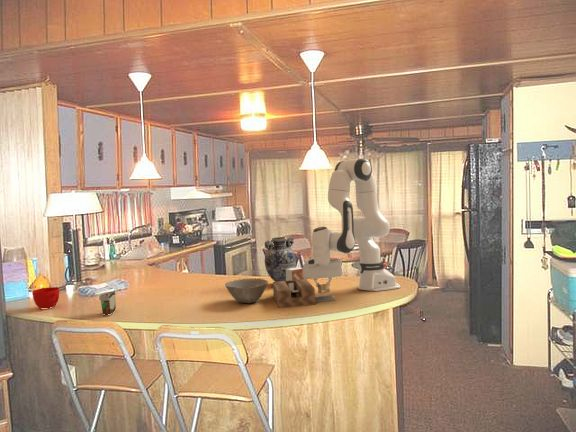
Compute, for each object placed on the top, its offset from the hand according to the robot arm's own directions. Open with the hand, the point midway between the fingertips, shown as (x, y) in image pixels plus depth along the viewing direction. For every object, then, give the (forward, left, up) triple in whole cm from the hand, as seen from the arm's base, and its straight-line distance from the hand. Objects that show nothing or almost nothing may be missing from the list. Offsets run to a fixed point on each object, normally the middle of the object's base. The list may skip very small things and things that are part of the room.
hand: (323, 286), depth 251 cm
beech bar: (0, +1, -3) cm, 3 cm away
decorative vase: (+16, -45, -7) cm, 48 cm away
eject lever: (+15, -3, -3) cm, 16 cm away
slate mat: (0, 0, -7) cm, 7 cm away
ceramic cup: (+143, -33, -7) cm, 147 cm away
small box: (+11, -22, -7) cm, 26 cm away
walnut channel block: (+15, -3, -7) cm, 17 cm away
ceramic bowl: (+38, -9, -7) cm, 40 cm away
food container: (+108, -9, -7) cm, 109 cm away
